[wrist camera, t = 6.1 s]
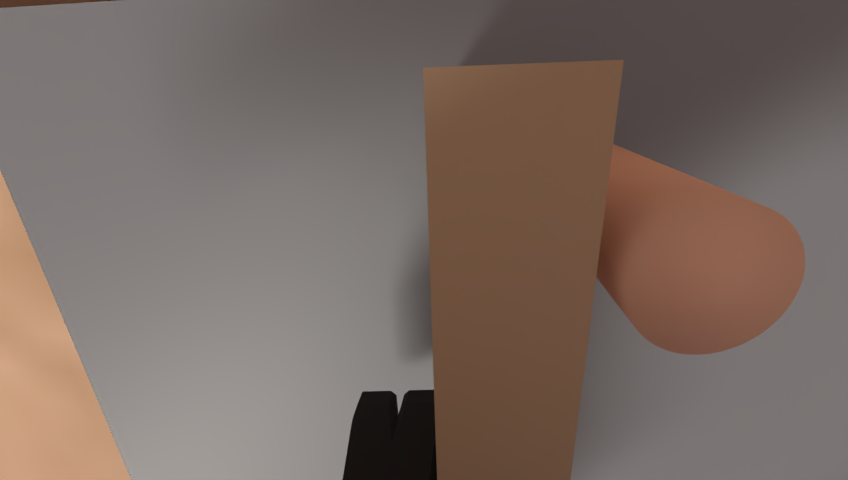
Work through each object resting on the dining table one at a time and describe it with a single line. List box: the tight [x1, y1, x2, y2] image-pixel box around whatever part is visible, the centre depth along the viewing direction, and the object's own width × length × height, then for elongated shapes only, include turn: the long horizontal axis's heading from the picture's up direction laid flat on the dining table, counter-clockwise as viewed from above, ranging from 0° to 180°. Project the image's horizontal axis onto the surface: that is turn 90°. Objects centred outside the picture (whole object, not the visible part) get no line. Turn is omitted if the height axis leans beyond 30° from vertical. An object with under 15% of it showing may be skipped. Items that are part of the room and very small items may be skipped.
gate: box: [423, 60, 624, 480], centre depth 8 cm, size 13×2×5 cm, turn 2°
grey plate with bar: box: [0, 0, 848, 480], centre depth 8 cm, size 16×22×7 cm
